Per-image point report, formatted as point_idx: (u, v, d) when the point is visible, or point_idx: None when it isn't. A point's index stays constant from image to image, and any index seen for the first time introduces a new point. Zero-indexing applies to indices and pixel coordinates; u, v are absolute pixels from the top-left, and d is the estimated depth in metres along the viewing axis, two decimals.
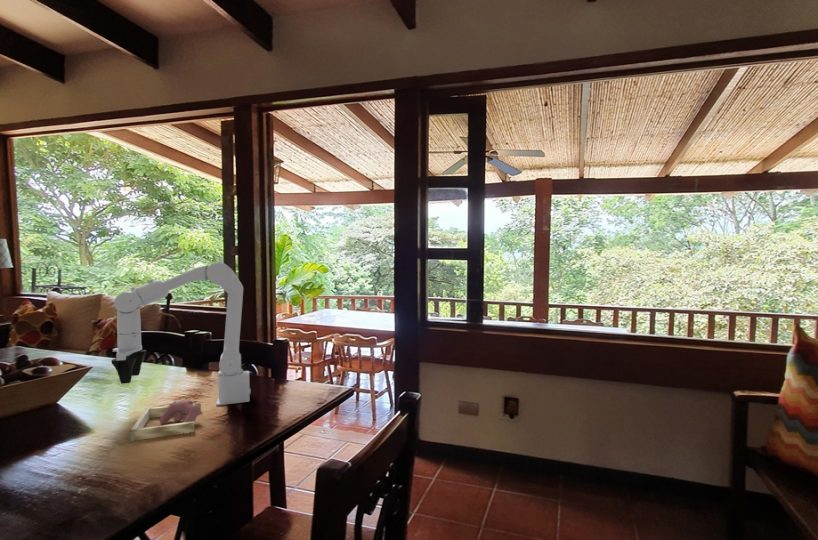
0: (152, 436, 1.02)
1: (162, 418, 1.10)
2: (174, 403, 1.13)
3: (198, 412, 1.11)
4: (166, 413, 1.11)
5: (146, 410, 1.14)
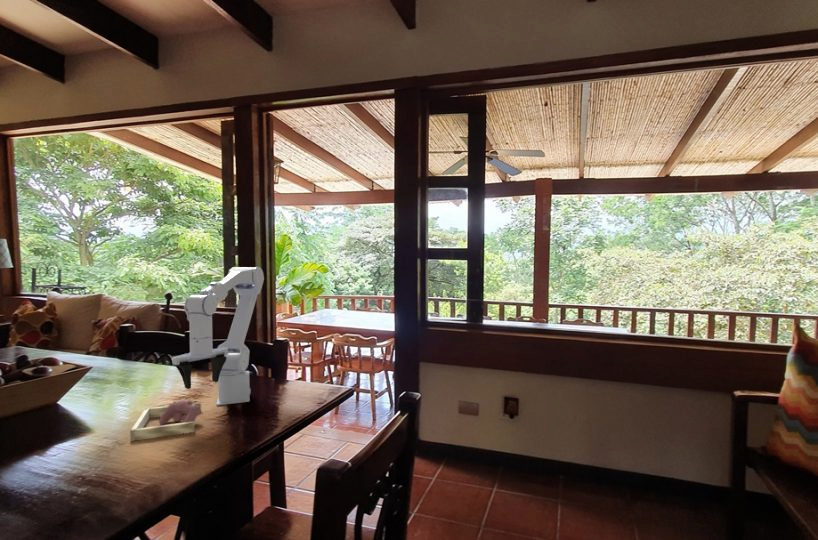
0: (152, 436, 1.02)
1: (161, 418, 1.10)
2: (173, 403, 1.12)
3: (198, 412, 1.11)
4: (165, 413, 1.11)
5: (146, 410, 1.14)
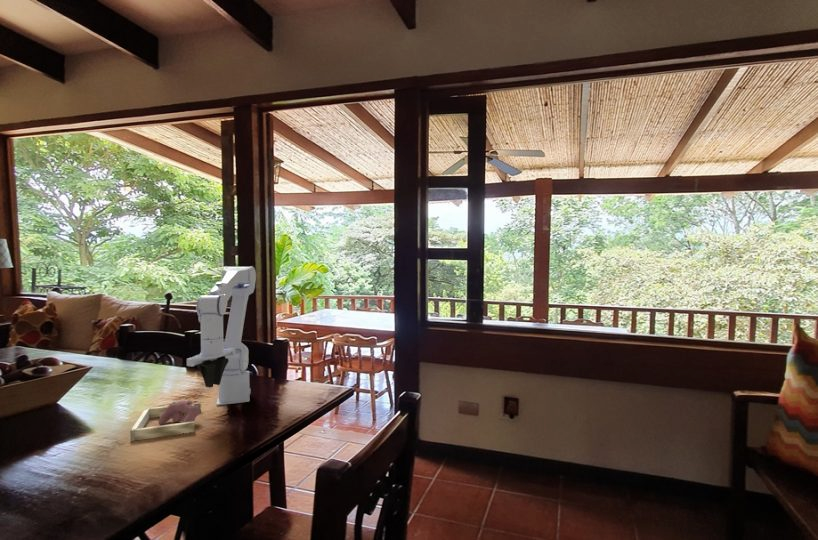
0: (152, 436, 1.02)
1: (161, 419, 1.10)
2: (173, 404, 1.12)
3: (197, 412, 1.11)
4: (165, 414, 1.11)
5: (146, 410, 1.14)
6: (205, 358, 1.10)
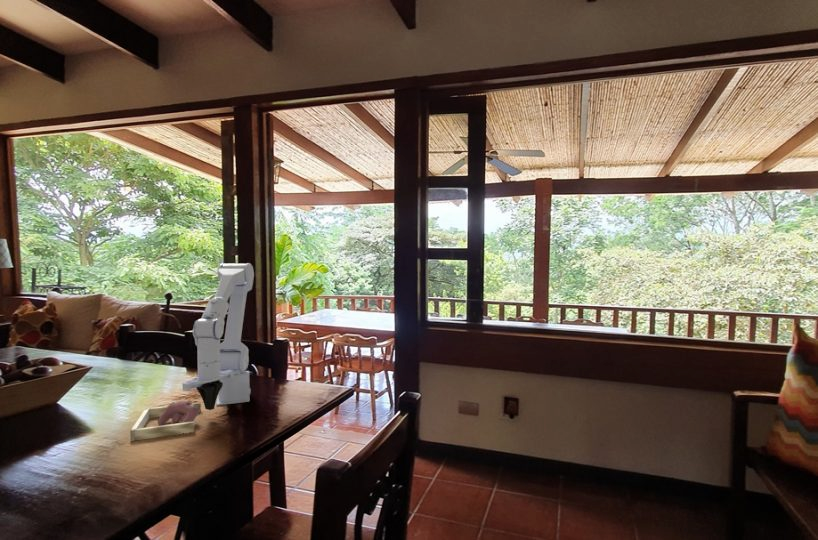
0: (152, 436, 1.02)
1: (160, 419, 1.09)
2: (172, 404, 1.12)
3: (196, 413, 1.10)
4: (164, 414, 1.10)
5: (146, 410, 1.14)
6: (201, 382, 1.09)
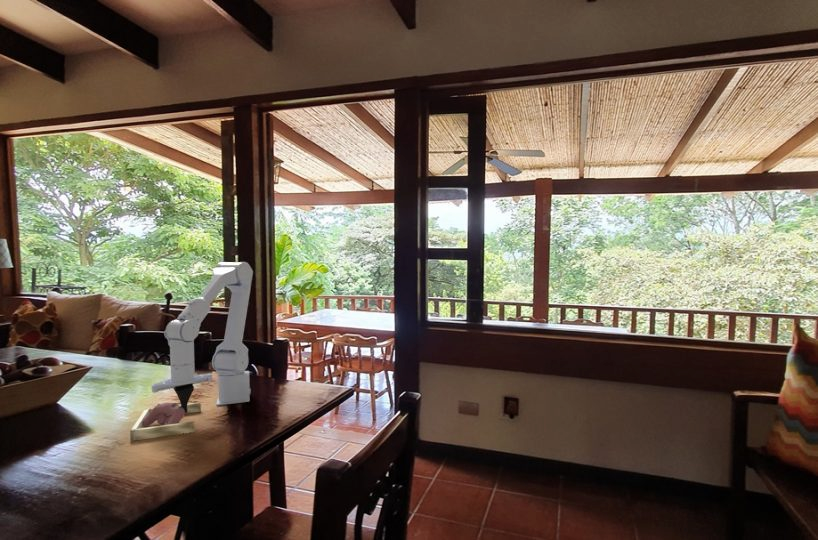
0: (152, 436, 1.02)
1: (145, 421, 1.08)
2: (158, 405, 1.10)
3: (182, 415, 1.09)
4: (149, 416, 1.09)
5: (146, 410, 1.14)
6: (169, 385, 1.07)
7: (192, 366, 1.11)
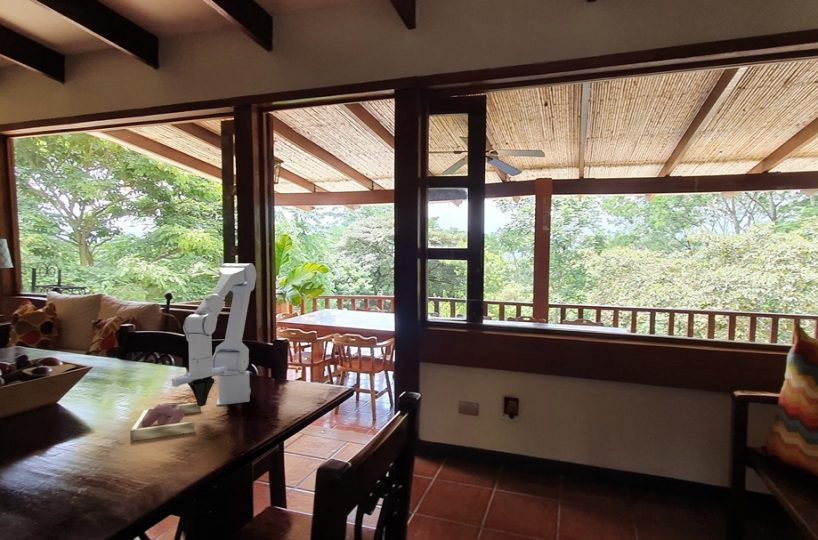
0: (152, 436, 1.02)
1: (145, 421, 1.08)
2: (158, 406, 1.10)
3: (182, 415, 1.09)
4: (149, 416, 1.09)
5: (146, 410, 1.14)
6: (190, 378, 1.09)
7: (211, 359, 1.13)
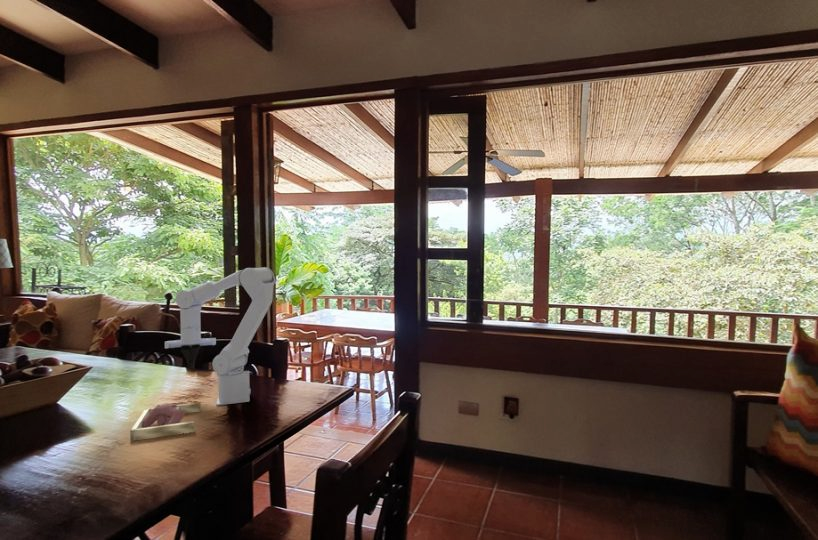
0: (152, 436, 1.02)
1: (145, 422, 1.08)
2: (158, 406, 1.10)
3: (182, 416, 1.09)
4: (149, 417, 1.09)
5: (146, 410, 1.14)
6: (176, 343, 1.28)
7: (196, 330, 1.30)
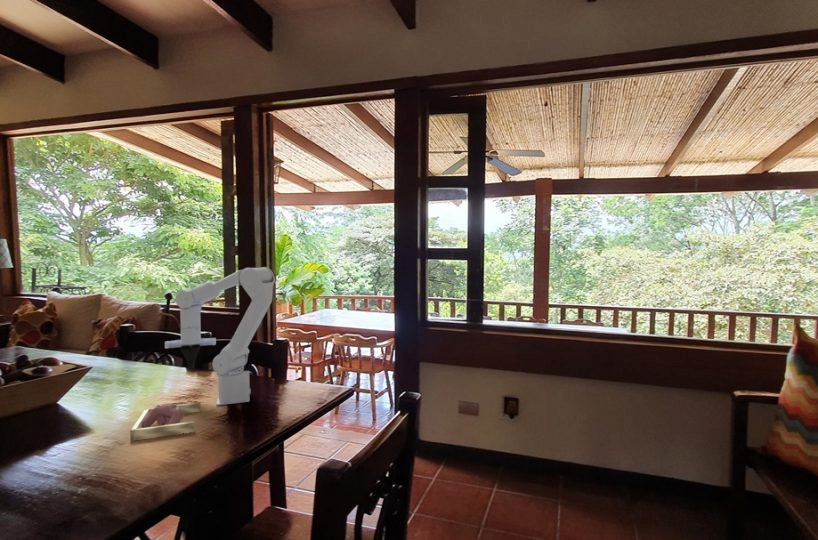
0: (152, 436, 1.02)
1: (145, 422, 1.07)
2: (157, 407, 1.10)
3: (182, 416, 1.08)
4: (149, 417, 1.08)
5: (146, 410, 1.14)
6: (176, 343, 1.28)
7: (196, 330, 1.30)
